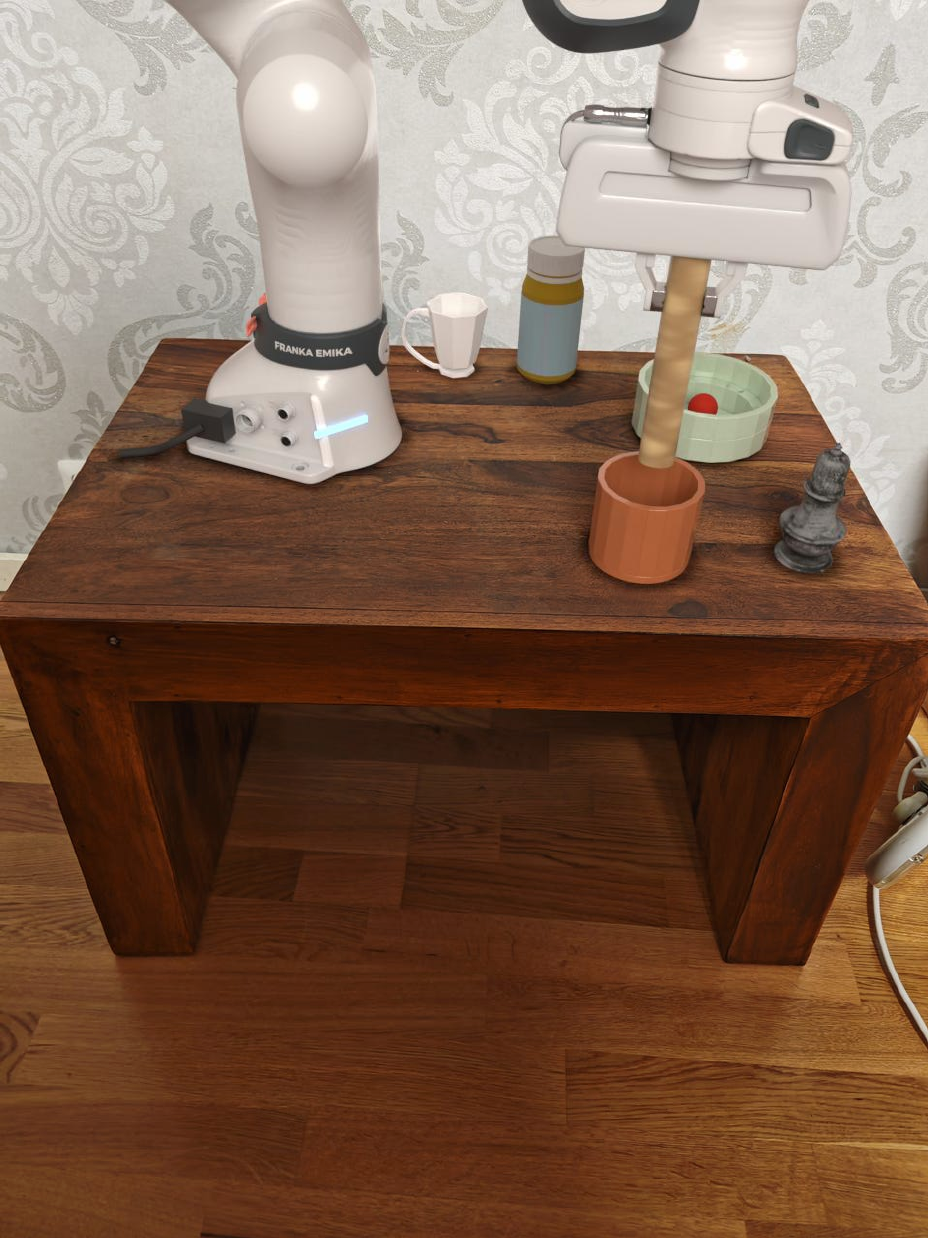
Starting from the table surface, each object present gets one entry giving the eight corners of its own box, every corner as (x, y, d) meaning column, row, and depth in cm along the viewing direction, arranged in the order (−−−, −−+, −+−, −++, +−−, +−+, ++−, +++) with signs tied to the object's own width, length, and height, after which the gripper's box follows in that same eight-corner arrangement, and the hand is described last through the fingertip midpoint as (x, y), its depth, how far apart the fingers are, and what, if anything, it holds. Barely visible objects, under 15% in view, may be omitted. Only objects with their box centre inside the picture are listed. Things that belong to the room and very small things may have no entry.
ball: (684, 423, 107) (681, 409, 104) (696, 398, 107) (693, 384, 104) (711, 431, 105) (709, 418, 103) (723, 406, 106) (722, 392, 103)
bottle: (572, 388, 112) (586, 260, 102) (513, 382, 113) (521, 254, 103) (577, 361, 117) (590, 236, 108) (519, 355, 118) (528, 231, 108)
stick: (638, 466, 80) (675, 238, 69) (637, 451, 82) (673, 228, 72) (675, 470, 80) (717, 241, 69) (673, 454, 82) (713, 232, 72)
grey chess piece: (791, 580, 87) (828, 465, 79) (758, 541, 91) (790, 429, 83) (848, 569, 88) (890, 456, 80) (813, 532, 92) (850, 421, 84)
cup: (481, 386, 112) (483, 319, 107) (396, 378, 113) (395, 312, 108) (489, 358, 117) (492, 294, 112) (408, 351, 118) (407, 286, 113)
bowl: (626, 459, 101) (634, 408, 97) (635, 393, 112) (642, 345, 108) (766, 477, 99) (781, 425, 95) (762, 408, 110) (774, 359, 106)
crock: (583, 576, 86) (593, 502, 81) (593, 517, 93) (603, 445, 88) (687, 591, 85) (704, 517, 80) (689, 530, 92) (705, 457, 87)
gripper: (557, 113, 64) (541, 314, 73) (879, 138, 61) (820, 344, 70) (568, 90, 68) (552, 281, 78) (868, 112, 66) (814, 308, 75)
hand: (682, 311), depth 74 cm, fingers closed on stick, 3 cm apart
